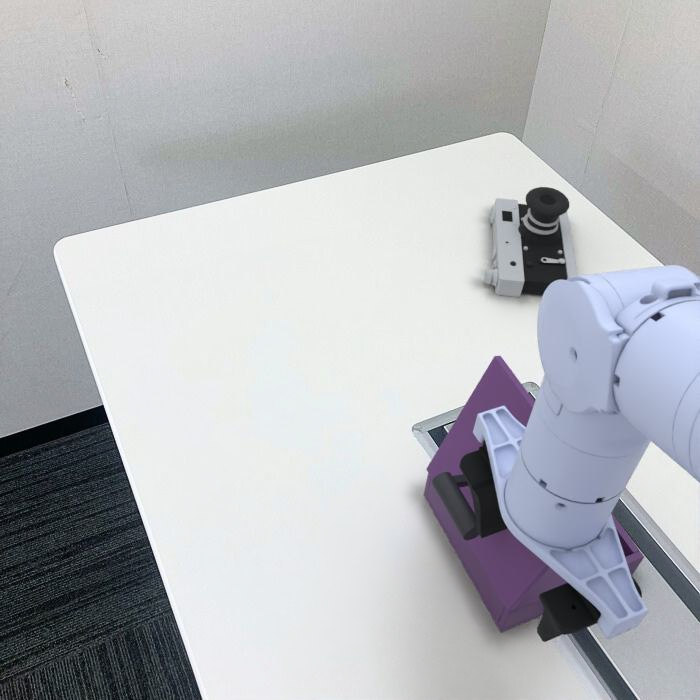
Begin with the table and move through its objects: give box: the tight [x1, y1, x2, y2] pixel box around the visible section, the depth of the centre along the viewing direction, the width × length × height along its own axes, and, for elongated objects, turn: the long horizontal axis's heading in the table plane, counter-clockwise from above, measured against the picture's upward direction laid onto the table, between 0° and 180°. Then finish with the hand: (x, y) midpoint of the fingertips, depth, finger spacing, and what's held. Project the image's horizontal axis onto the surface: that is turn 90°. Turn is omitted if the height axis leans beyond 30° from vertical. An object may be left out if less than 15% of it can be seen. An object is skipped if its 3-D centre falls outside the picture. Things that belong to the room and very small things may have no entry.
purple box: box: [423, 472, 645, 633], centre depth 62 cm, size 12×13×4 cm
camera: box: [483, 186, 578, 298], centre depth 87 cm, size 15×7×10 cm
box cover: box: [426, 355, 550, 611], centre depth 54 cm, size 13×13×4 cm
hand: (521, 578), depth 49 cm, fingers open, 7 cm apart
